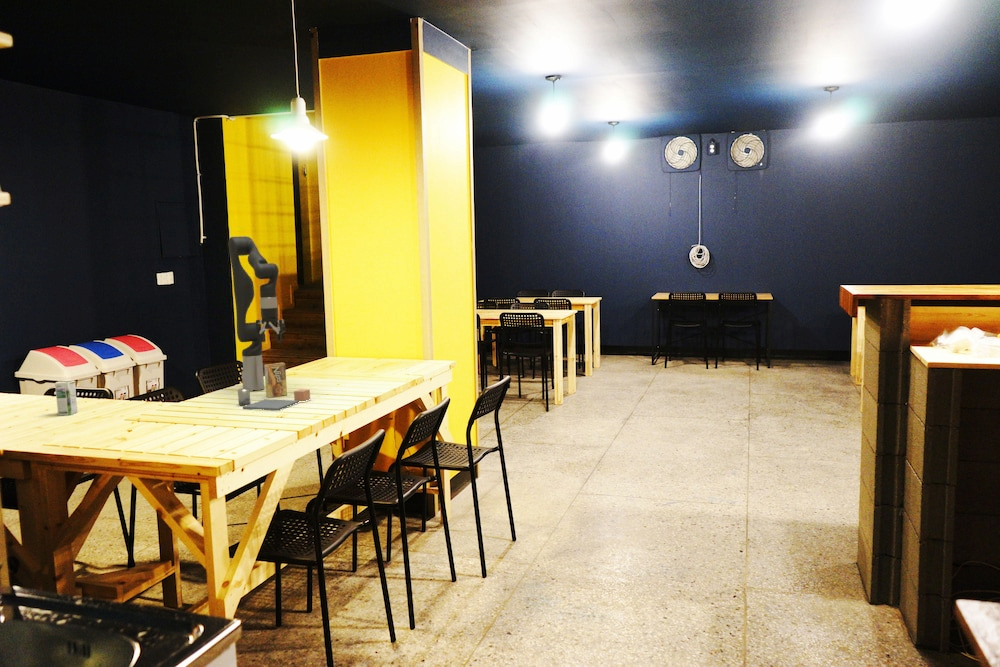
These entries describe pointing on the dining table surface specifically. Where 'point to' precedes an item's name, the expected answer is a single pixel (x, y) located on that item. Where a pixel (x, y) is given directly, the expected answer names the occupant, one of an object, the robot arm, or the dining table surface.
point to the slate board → (270, 404)
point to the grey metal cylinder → (244, 396)
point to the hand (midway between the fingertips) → (271, 341)
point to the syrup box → (66, 397)
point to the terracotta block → (302, 395)
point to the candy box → (275, 379)
